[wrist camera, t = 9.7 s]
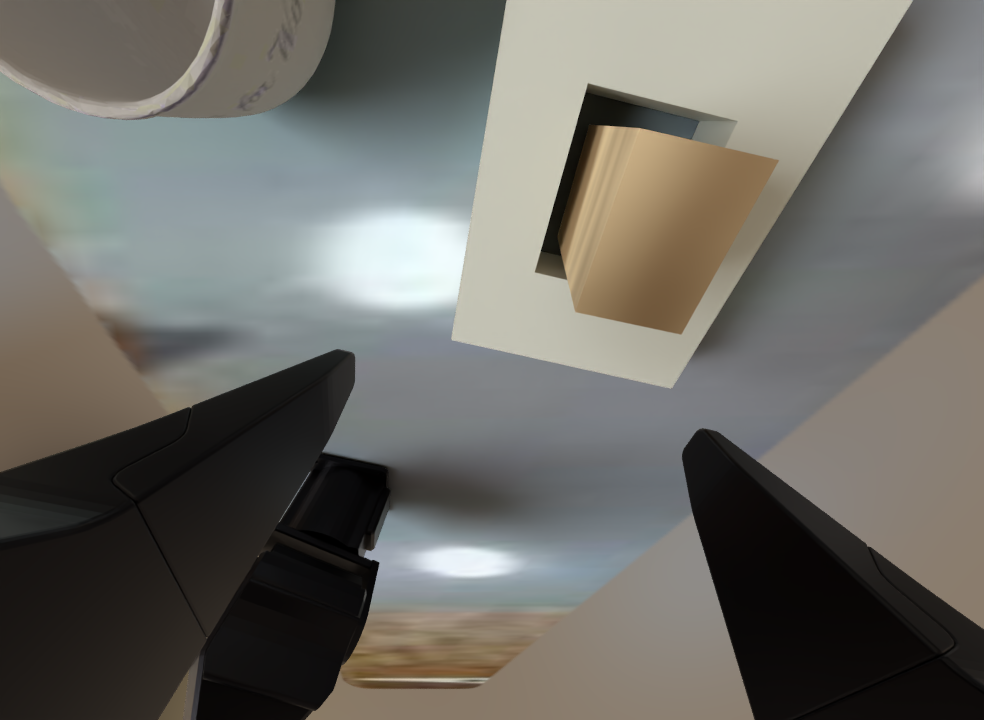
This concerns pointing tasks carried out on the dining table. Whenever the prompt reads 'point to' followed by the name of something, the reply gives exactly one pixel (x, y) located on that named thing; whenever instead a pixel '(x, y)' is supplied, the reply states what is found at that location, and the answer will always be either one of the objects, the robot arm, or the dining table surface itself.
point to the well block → (660, 86)
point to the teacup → (164, 54)
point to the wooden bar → (653, 222)
